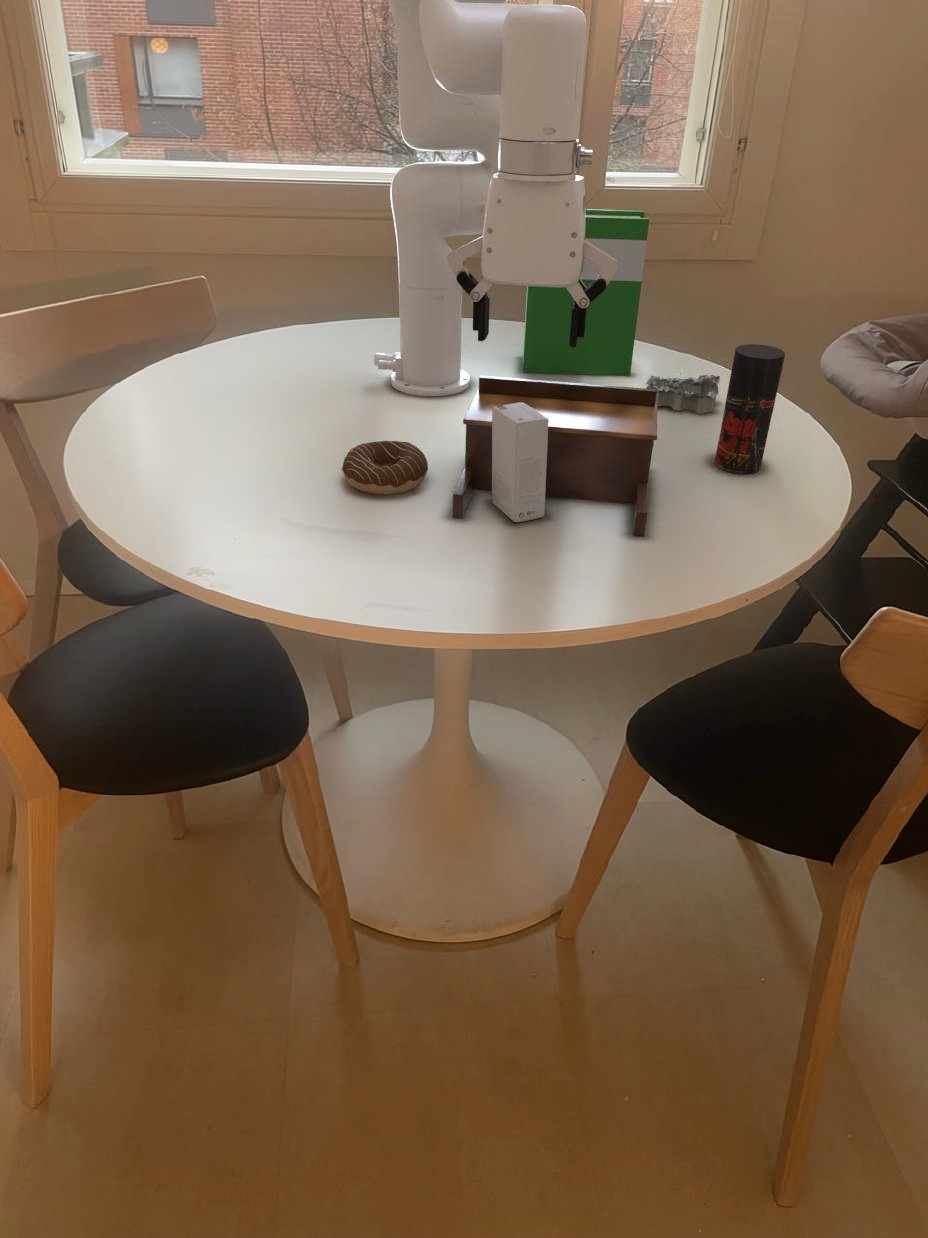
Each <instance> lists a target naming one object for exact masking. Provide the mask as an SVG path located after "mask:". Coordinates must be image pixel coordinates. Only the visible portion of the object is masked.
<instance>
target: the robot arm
mask: <svg viewBox="0 0 928 1238" xmlns="http://www.w3.org/2000/svg"><path fill="white" fill-rule="evenodd" d="M508 1H509V0H387V2H388V4H389V9H390V11H391V15H392V19H393V23H394V27H395V34H396V58H397V60H396V61H397V92H398V93H397V97H398V98H397V99H398V101H397V102H398V120H399V128H400V133H401V137H402V139H403V141H404V143H405V144H406V145H407V146H408V147H410V148H411V149H414V150H418V151H425V152H475V153H476V154H477V157H478V161H424V162H423V161H422V162H414V163H411V164H407V165H405V166H402V167H401V168H400V169H398V170H397V172H395V174H394V175H393V177H392V180H391V183H390V204H391V210H392V217H393V223H394V229H395V236H396V247H397V267H398V268H397V269H398V270H397V271H398V308H399V309H398V310H399V311H398V313H399V314H398V316H399V317H398V319H399V352H395V353H394V354H387V353H380V352H375V353H374V356H373V362H374V366H377V369H378V370H383V371H384V370H385V371H387V370H391V371H392V374H391V376H390V384H391V386H392V387H393V388H394V390H397V391H399V392H401V393H404V394H408V395H413V396H418V397H419V396H420V397H444V396H450V395H455V394H459V393H462V392H463V391H465V390H467V389H468V388H469V387H470V385H471V376H470V374H469V373H468V372H467V371H465V370H464V369H461V368H462V366H461V365H462V323H463V321H462V320H463V319H462V318H463V315H462V313H463V290H464V291H465V293H466V294H467V295H468V296H469V299H470V300H471V301H472V331H473V332H477V342H484V341H486V339H487V338H488V336H489V333H490V305H491V304H490V303H491V299H490V297H489V296H488V292H489V290H490V289H491V288H492V287H493V285H494V284H495V285H506V286H519V287H527V286H536V287H557V288H562V287H566V288H567V290H568V291H569V293H570V294H571V296H572V297H573V298H574V300H575V303H574V304H573V308H572V316H571V329H570V342H569V346H571V347H576V345H577V341H578V337H584V334H585V324H586V312H587V307H588V305H589V304H590V303H591V302H592V301H593V300H594V299H596V298H597V297H598V296H599V295H600V294H601V293H602V292H603V291H604V290H605V289H606V287H607V285H608V284H609V282H610V281H611V279H612V277H613V276H614V274H615V272H616V271H617V269H618V266H619V262H618V261H617V260H616V259H615V258H613V257H612V256H610V255H608V254H607V253H605V252H604V251H602V250H601V249H599V248H597V247H596V246H594V245H593V244H591V243H589V242H588V241H586V240H585V224H586V209H587V204H586V203H587V200H586V199H587V198H586V186H585V177H584V176H581V175H577V170H578V169H580V167H584V166H585V165H592V164H593V159H594V157H593V156H594V148H586V146H582V144H580V128H581V127H580V126H581V111H582V100H583V99H582V98H583V86H584V74H585V73H584V72H585V61H586V47H587V35H588V34H587V33H588V32H587V30H588V24H587V19H586V16H585V13H584V12H583V11H582V10H581V9H580V8H578V7H576V6H572V5H568V4H547V3H546V4H545V3H543V4H541V3H540V4H538V3H536V4H535V3H533V4H531V3H530V4H517V3H508ZM464 235H466V236H468V235H471V236H472V235H481V236H479V237H477V238H475V239H473V240H471V241H469V242H468V243H465V244H464V245H462V246H459V247H458V248H456V249H454V250H452V248H451V247H450V246H449V244H448V243H447V240H446V238H447V237H455V236H464ZM480 253H481V256H480V258H481V260H480V261H481V262H480V267H481V268H480V269H481V275H482V277H481V278H480V280H479V281H478V280H477V279H476V278H475V276H474V275H473V274H472V273H471V272H470V271H469V269H468V267H467V265H466V260H468V259H470V258H472V257H474V256H476V255H477V254H480ZM584 257H585V258H586V259H588V260H590V261H591V262H593V263H594V264H596V265H598V266H599V267H600V268H601V272H600V274H599V276H598V278H597V279H596V280H595V281H594V282H592V283H591V284H590V285H589V286H588V287H586V286H585V285H584V283H583V282H582V280H581V279H580V275H581V273H582V269H583V262H584Z"/></svg>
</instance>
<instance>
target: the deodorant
mask: <svg viewBox="0 0 928 1238" xmlns="http://www.w3.org/2000/svg"><path fill="white" fill-rule="evenodd" d="M785 357H786V352H785V351H784V350H782V349H781V348H778V347H775V346H770V345H765V344H758V343H757V344H755V343H754V344H753V343H751V344H748V343H747V344H741V345H738V346H736V347H735V349H734V355H733V361H732V366H731V372H730V375H729V376H730V377H729V382H728V386H727V387H728V388H727V393H726V399H725V404H724V409H723V414H722V420H721V426H720V430H719V435H718V442H717V446H716V448H717V449H716V453H715V458H714V465H715V466H716V467H717V468H718V469H720V470H722V471H724V472H727V473H731V474H738V475H751V474H755V473H758V472H759V471H761V468H762V463H763V459H764V454H765V449H766V445H767V441H768V435H769V431H770V426H771V422H772V417H773V412H774V408H775V402H776V399H777V393H778V390H779V385H780V381H781V376H782V370H783V366H784V362H785Z"/></svg>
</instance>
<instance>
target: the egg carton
mask: <svg viewBox="0 0 928 1238" xmlns="http://www.w3.org/2000/svg"><path fill="white" fill-rule="evenodd" d="M720 378H721V377H720V375H714V374H710V375H709V374H703V375H699V376H698V377H697V378H694V377H692V376H691V377H690V376H689V377H688V378H679V377H667V378H666V377H663V378H662V377H661V378H660V376H656V375H651V376H650V377H649V378H648V379H647V381H646V382H645V384H646V385H647V386H646V388H647V389H657V395H656V402H655V404H656V405H657V408H658V407H663V406H665V407H670V408H672V410H673V411H681V410H692V411H694V412H695V413H696V414H699V415H700V414H701V415H702V414H705V413H711V412H712V411H713V409H714V405H715V404H716V400H717V396H719V384H720V382H721V381H720V380H721V379H720Z"/></svg>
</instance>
